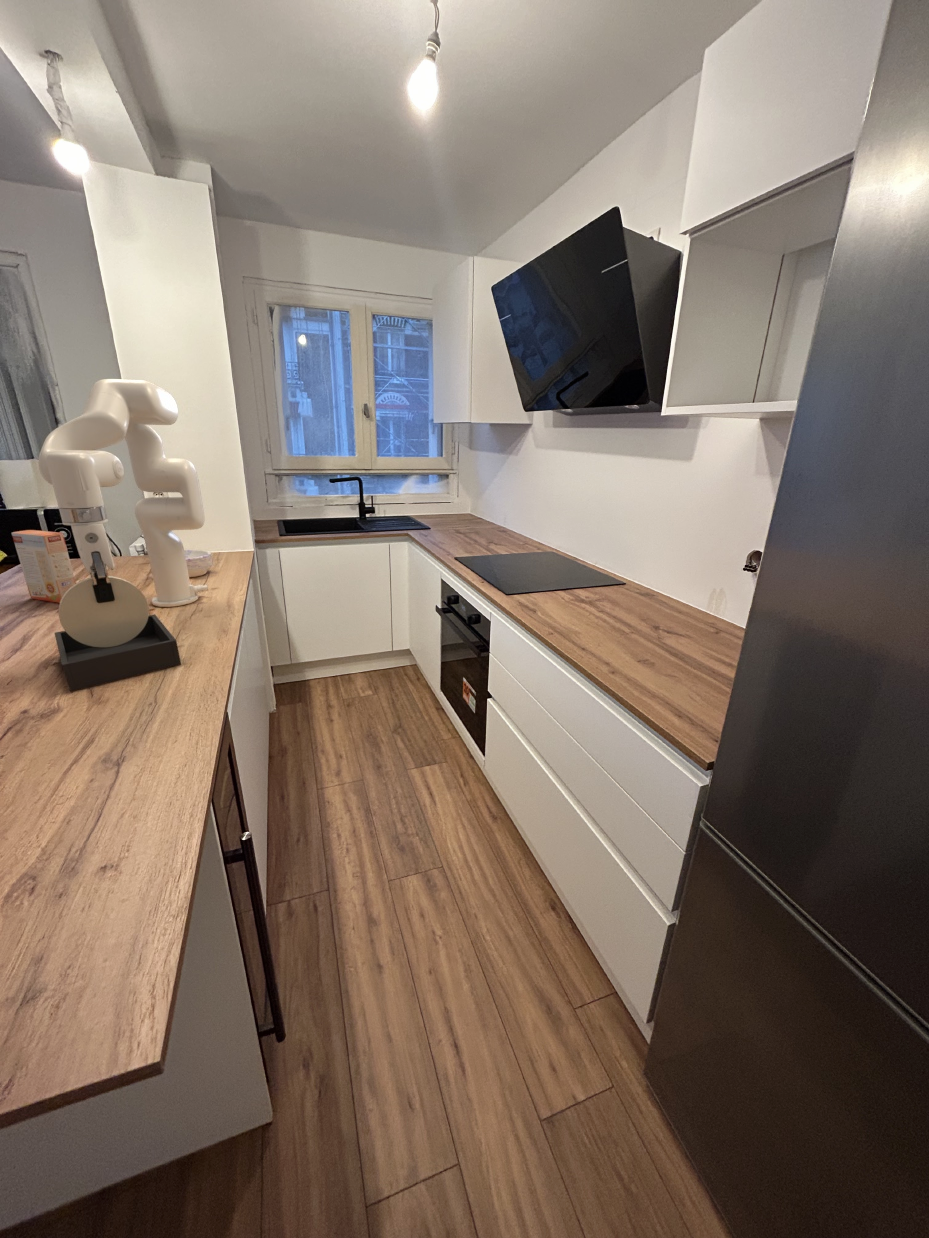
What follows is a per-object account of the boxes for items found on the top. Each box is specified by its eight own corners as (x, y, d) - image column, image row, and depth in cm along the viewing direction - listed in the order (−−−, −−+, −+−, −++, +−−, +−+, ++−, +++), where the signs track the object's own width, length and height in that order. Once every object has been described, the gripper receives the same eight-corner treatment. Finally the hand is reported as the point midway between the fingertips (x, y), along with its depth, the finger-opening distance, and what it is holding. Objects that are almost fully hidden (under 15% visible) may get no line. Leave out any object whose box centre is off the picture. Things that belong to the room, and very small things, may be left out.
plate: (155, 634, 115) (137, 569, 109) (156, 635, 114) (138, 570, 108) (72, 654, 105) (47, 584, 99) (72, 656, 104) (47, 585, 98)
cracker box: (81, 598, 152) (63, 532, 145) (61, 604, 147) (41, 535, 139) (51, 593, 156) (32, 528, 149) (30, 598, 151) (9, 531, 144)
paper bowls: (201, 580, 173) (197, 558, 171) (159, 579, 174) (154, 557, 171) (221, 569, 188) (218, 549, 185) (182, 569, 188) (179, 548, 185)
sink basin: (159, 636, 125) (155, 614, 123) (181, 664, 110) (176, 640, 107) (61, 656, 112) (54, 632, 110) (70, 692, 97) (62, 665, 95)
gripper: (111, 518, 97) (132, 606, 103) (101, 510, 107) (120, 589, 114) (64, 522, 92) (88, 613, 98) (58, 512, 103) (80, 595, 109)
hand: (105, 600), depth 106 cm, fingers closed on plate, 1 cm apart
